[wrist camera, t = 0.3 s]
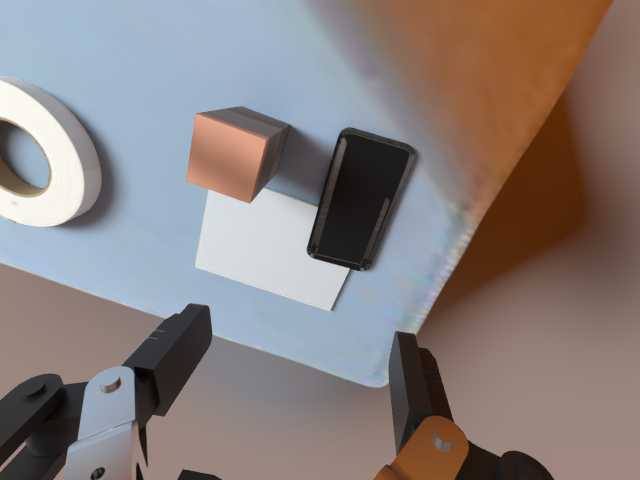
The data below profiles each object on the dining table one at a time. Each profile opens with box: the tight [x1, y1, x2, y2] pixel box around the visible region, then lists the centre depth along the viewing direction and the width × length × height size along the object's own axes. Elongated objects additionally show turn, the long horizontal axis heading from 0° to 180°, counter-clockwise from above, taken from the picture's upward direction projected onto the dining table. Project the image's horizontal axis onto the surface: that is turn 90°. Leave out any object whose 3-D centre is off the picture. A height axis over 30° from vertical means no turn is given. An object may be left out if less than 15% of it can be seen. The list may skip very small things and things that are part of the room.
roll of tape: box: [0, 76, 102, 227], centre depth 32 cm, size 16×15×3 cm
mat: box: [195, 187, 350, 311], centre depth 36 cm, size 13×18×1 cm
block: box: [186, 106, 290, 204], centre depth 26 cm, size 5×5×10 cm
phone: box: [307, 127, 415, 271], centre depth 33 cm, size 8×1×15 cm
